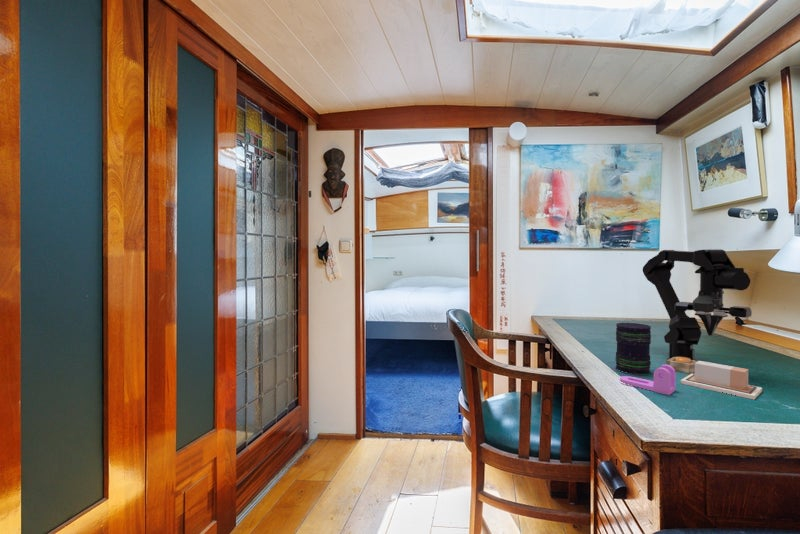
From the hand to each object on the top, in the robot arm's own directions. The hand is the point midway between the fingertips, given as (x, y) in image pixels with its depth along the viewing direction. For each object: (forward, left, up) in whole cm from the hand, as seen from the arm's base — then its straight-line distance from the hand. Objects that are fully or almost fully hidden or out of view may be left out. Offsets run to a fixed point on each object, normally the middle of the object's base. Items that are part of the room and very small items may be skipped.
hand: (710, 335), depth 122 cm
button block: (-6, -6, -12) cm, 14 cm away
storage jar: (-16, -19, -12) cm, 28 cm away
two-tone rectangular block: (+6, -17, -10) cm, 21 cm away
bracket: (-7, -33, -12) cm, 36 cm away
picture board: (+6, -17, -12) cm, 22 cm away
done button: (-6, -6, -11) cm, 13 cm away
